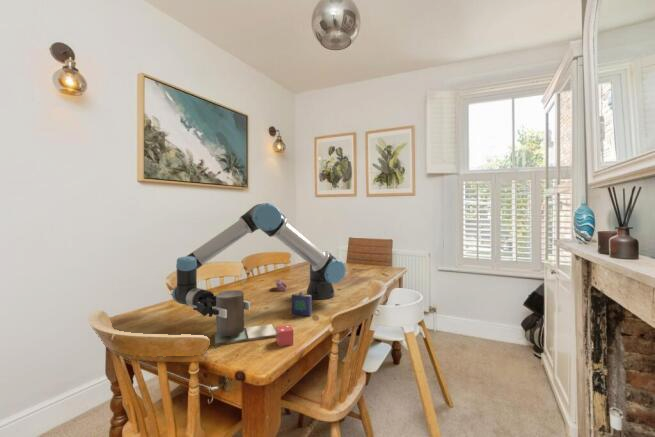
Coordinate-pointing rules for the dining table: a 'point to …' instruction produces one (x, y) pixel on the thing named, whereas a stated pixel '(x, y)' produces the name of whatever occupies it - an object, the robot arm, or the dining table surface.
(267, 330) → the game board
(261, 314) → the dining table surface
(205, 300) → the robot arm
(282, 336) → the red die
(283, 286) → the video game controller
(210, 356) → the dining table surface
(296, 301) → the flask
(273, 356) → the dining table surface
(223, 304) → the pillar candle
